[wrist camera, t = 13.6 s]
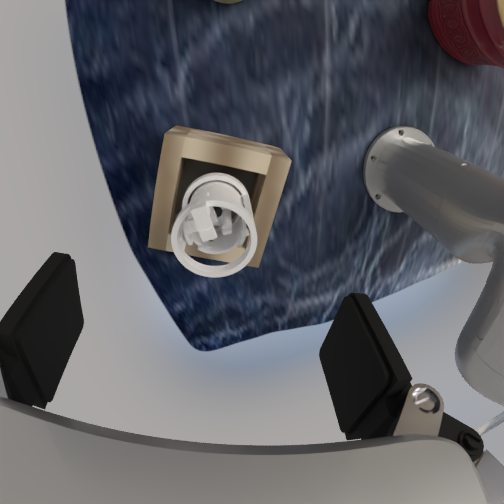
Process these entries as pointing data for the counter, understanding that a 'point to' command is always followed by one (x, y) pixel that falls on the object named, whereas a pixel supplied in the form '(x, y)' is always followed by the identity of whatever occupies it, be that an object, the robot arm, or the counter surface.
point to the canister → (469, 29)
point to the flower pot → (228, 1)
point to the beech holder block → (216, 161)
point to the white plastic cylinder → (214, 223)
